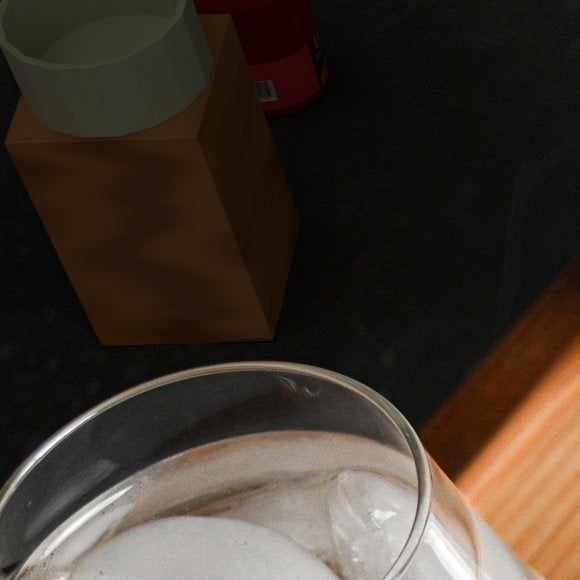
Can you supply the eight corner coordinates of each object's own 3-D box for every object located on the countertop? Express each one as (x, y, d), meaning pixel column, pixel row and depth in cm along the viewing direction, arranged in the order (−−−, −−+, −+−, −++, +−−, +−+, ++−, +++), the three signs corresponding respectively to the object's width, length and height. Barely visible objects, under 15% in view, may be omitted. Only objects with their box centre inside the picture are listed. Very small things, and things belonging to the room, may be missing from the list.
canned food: (348, 91, 146) (310, -40, 136) (254, 135, 143) (208, 4, 134) (302, 41, 149) (262, -91, 140) (209, 82, 147) (162, -48, 138)
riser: (101, 346, 132) (3, 143, 118) (136, 226, 139) (47, 19, 124) (274, 342, 132) (196, 137, 117) (301, 221, 138) (230, 13, 124)
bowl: (7, 140, 118) (-26, 71, 114) (49, 21, 124) (19, -50, 120) (194, 135, 117) (167, 64, 113) (226, 15, 124) (202, -56, 119)
